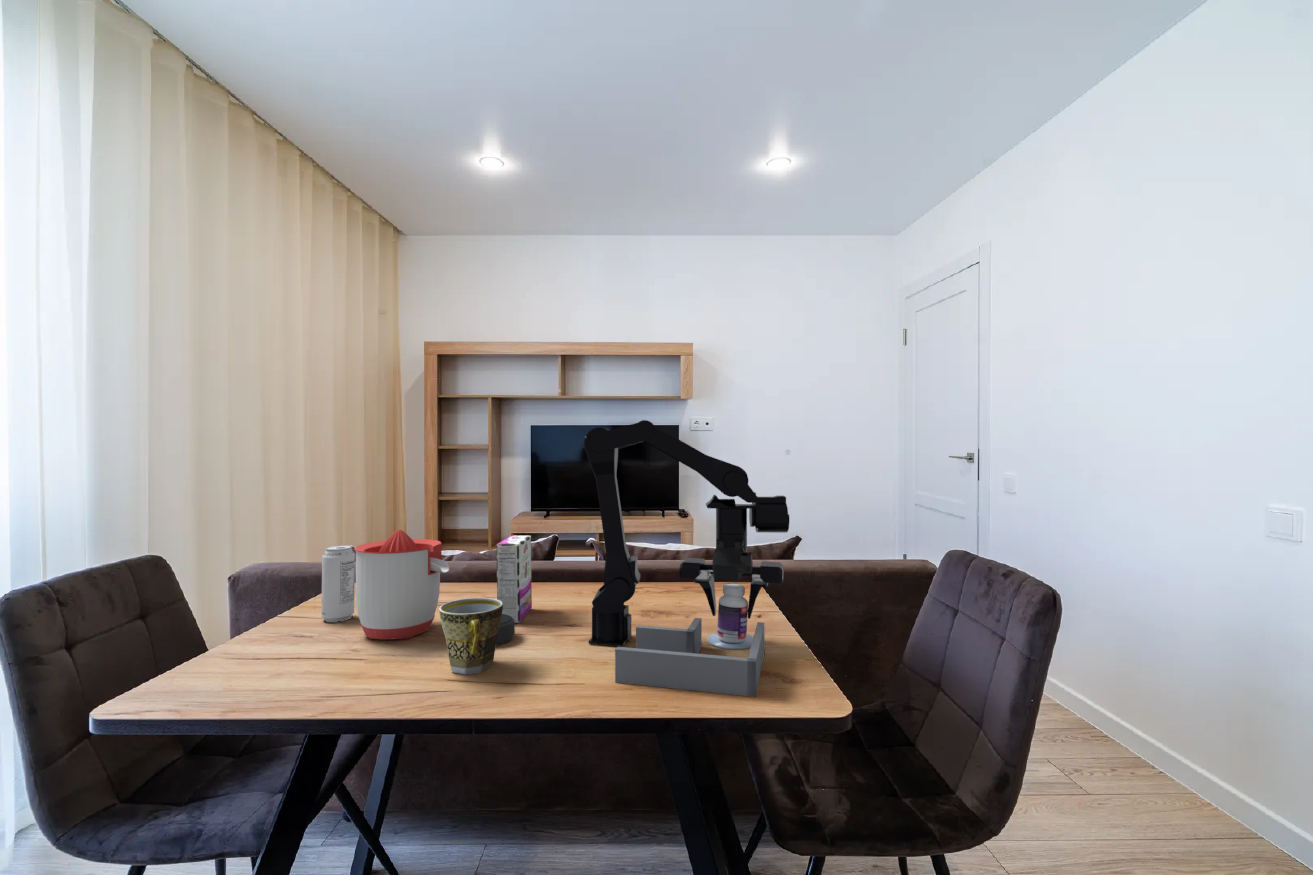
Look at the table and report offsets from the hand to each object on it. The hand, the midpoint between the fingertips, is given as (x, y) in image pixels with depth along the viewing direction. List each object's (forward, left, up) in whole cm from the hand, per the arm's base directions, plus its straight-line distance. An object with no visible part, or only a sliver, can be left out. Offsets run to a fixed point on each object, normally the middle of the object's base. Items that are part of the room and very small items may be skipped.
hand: (731, 616), depth 107 cm
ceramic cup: (-39, -24, -5) cm, 46 cm away
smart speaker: (-44, -10, -5) cm, 45 cm away
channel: (-5, -13, -4) cm, 15 cm away
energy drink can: (-82, -6, -5) cm, 82 cm away
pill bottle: (0, 0, -4) cm, 4 cm away
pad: (0, 0, -4) cm, 5 cm away
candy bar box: (-47, +5, -5) cm, 47 cm away
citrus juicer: (-63, -10, -5) cm, 64 cm away
